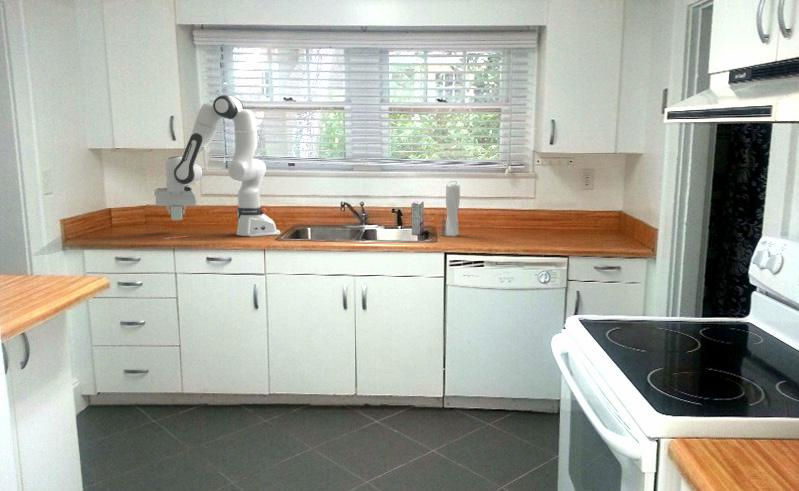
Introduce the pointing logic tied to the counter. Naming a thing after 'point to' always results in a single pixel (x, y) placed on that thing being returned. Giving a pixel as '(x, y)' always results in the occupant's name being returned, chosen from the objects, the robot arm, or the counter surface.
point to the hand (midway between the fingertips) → (176, 214)
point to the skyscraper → (451, 210)
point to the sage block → (176, 212)
